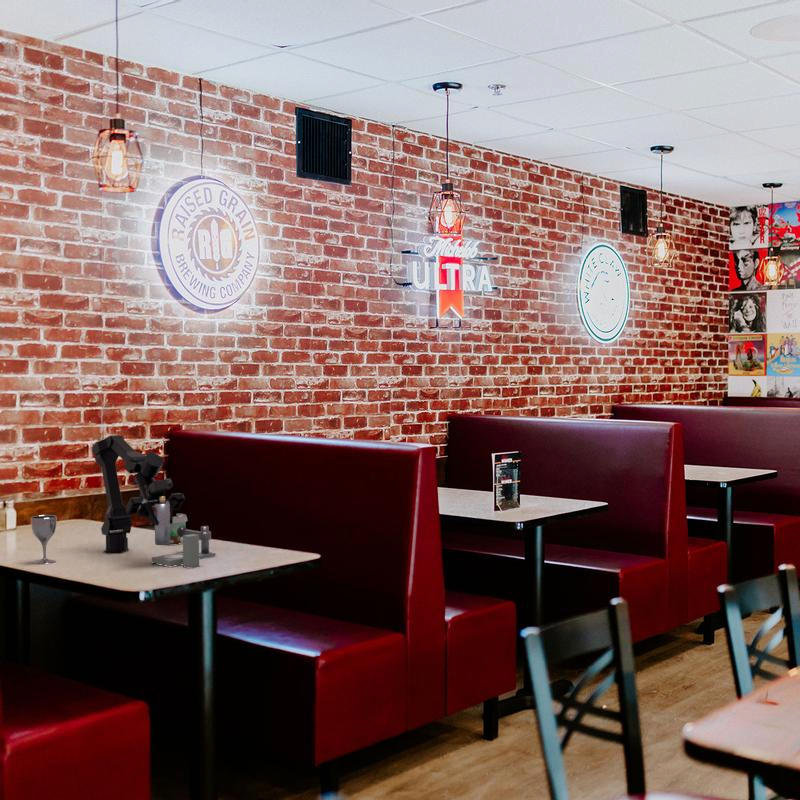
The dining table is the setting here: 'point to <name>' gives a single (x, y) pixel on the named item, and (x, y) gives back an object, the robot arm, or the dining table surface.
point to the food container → (177, 522)
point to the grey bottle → (162, 522)
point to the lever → (203, 536)
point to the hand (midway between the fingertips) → (164, 523)
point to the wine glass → (44, 532)
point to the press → (184, 553)
